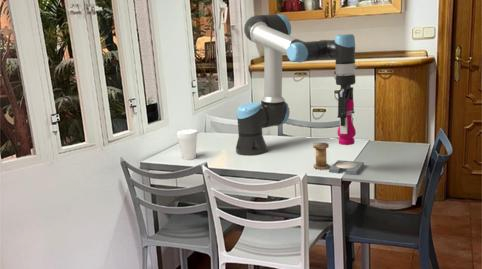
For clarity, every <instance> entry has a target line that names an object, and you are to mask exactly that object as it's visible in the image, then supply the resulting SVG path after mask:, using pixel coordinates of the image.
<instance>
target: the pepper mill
mask: <svg viewBox="0 0 482 269" xmlns="http://www.w3.org/2000/svg"><path fill="white" fill-rule="evenodd" d="M354 105H355V103H354V100H353V101H352V100H351V99H349V100H348V101H347V113H346V117H347V134H340V125H339V126H338V128H337V132H336V134H337V136H338V138H339V139H338V144H339V145H341V146H352V145H354V144H355V138H354V137H355V136H356V133H357V132H356V128H355V126H354V124H353V119H352V120H351V115H352V116H353V114H354V113H352V108H353V107H355V106H354Z"/></svg>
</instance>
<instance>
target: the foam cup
mask: <svg viewBox="0 0 482 269" xmlns="http://www.w3.org/2000/svg"><path fill="white" fill-rule="evenodd" d="M176 137H177V140H178V144H179V149H180V154H181V157H182V160H184V161H190V160H194V159H196V158H197V142H198V141H197V140H198V139H197V137H198V131H197V129H183V130H178V131H177V132H176Z"/></svg>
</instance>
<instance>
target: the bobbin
mask: <svg viewBox="0 0 482 269" xmlns="http://www.w3.org/2000/svg"><path fill="white" fill-rule="evenodd" d="M312 147H313V148H314V149H315V163H314V164H313V169H314V168H315V170H317V169H320V170H319V171H323V169H325V170H329V168H330V164H328V162H327V149H328V148H329V143H327V142H315V143H313V144H312ZM321 169H322V170H321Z"/></svg>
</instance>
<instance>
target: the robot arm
mask: <svg viewBox="0 0 482 269" xmlns="http://www.w3.org/2000/svg"><path fill="white" fill-rule="evenodd" d="M243 28H244V29H243V30H244V31H243V32H244V34H245V37H246V38H247V39H248V40H249V41H251V42H253V43H255V44H261V45H262V46H263V47H264V48H263V49H264V51H263V52H264V59H263V60H264V61H263V62H264V68H263V70H264V72H263V75H264V80H263V81H264V88H263V89H264V90H263V94H264V96H262V97H261V99H260V100H261V101H260V102H257V101H255V102H248V103H247V102H246V103H244V104H241V105H239V106H238V108H237V112H236V118H237V129H238V132H237V133H238V138H237V142H236V146H235V152H236V154H237V155H242V156H255V155H260V154H264V153H266V152H267V150H268V148H267V147H268V146H267V144H266V141H265V138H264V136H263V129H265V128H271V127H278V126H280V125H284V124H285V123H286V122H288V120H289V118H290V112H291V111H290V107H289V104H288V103H287V102H286V100H285V98H284V97H283V95H282V94H283V92H282V91H283V54H284V55H286V56H287V58H288V59H289V61H290V62H291V63H302V62H313V61H320V60H321V61H322V60H335V62H334V63H335V74H336V76H335V84H336V85H337V86H340V89H339V91H338V92H337V104H338V105H337V116H336V117H337V118H339V126H340V134H347V117H346V113H347V101H348V100H349V99H351V100H352V101H353V102H354V87H353V85H355V84H356V69H357V65H356V41H355V40H356V39H355V35H354V34H352V33H347V34H346V33H345V34H337V35H335V36H334V39H321V40H313V41H311V40H310V41H303V40H301V39H299V38H296V37H294V36H291V34H292V25H291V22H290V20H289V19H288V17H287V16H286V15H284V14H282V13H281V14H278V13H273V14H257V15H253V16H251V17H249V18H248V19H247V20H246V22H245V24H244V26H243ZM354 107H355V106H354ZM354 107H353V108H352V113H353V114H355V108H354ZM353 114H352V115H351V120H352V121H353Z"/></svg>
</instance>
